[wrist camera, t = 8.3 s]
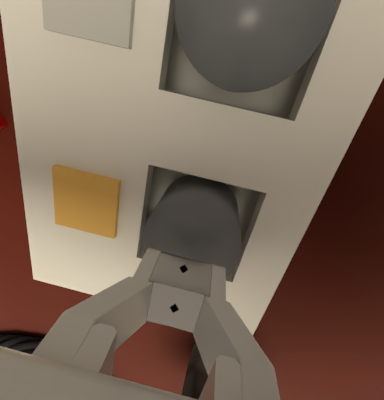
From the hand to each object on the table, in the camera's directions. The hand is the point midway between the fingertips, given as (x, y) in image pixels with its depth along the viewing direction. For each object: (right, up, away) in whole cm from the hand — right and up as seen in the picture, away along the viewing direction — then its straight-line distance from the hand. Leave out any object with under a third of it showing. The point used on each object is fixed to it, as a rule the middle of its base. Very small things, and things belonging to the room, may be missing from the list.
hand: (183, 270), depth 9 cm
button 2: (+1, +2, +4) cm, 5 cm away
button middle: (+2, +10, +1) cm, 10 cm away
